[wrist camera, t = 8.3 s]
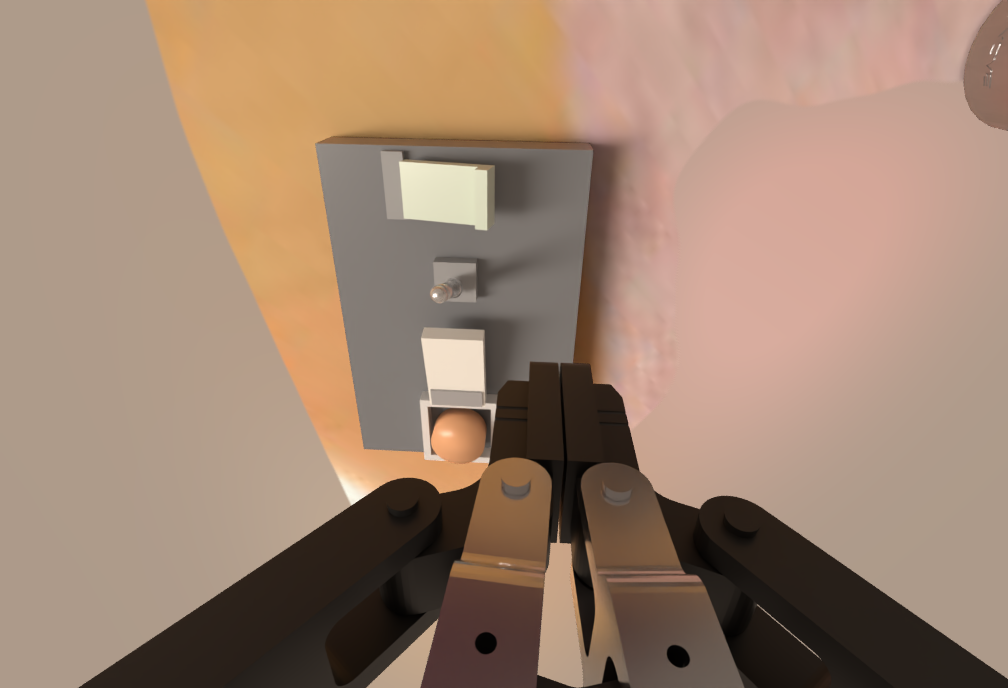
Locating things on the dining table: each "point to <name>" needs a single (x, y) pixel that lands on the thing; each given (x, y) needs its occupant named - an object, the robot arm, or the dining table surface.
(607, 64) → the dining table surface
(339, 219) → the control panel
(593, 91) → the dining table surface
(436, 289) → the toggle lever
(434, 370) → the rocker switch
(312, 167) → the dining table surface
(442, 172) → the paddle switch
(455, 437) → the push button
